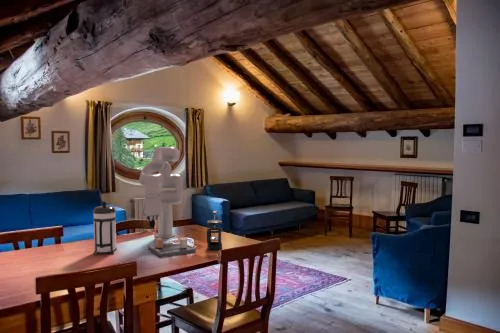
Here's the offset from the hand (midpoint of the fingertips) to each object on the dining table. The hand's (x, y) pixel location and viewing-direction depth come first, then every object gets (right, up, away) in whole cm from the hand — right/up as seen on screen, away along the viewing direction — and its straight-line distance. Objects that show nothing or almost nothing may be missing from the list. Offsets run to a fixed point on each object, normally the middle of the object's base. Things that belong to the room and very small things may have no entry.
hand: (152, 227), depth 250 cm
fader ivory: (+18, -13, +4) cm, 22 cm away
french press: (+35, -15, +10) cm, 40 cm away
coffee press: (-27, -15, 0) cm, 31 cm away
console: (+10, -15, +5) cm, 19 cm away
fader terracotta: (+3, -12, +4) cm, 14 cm away
